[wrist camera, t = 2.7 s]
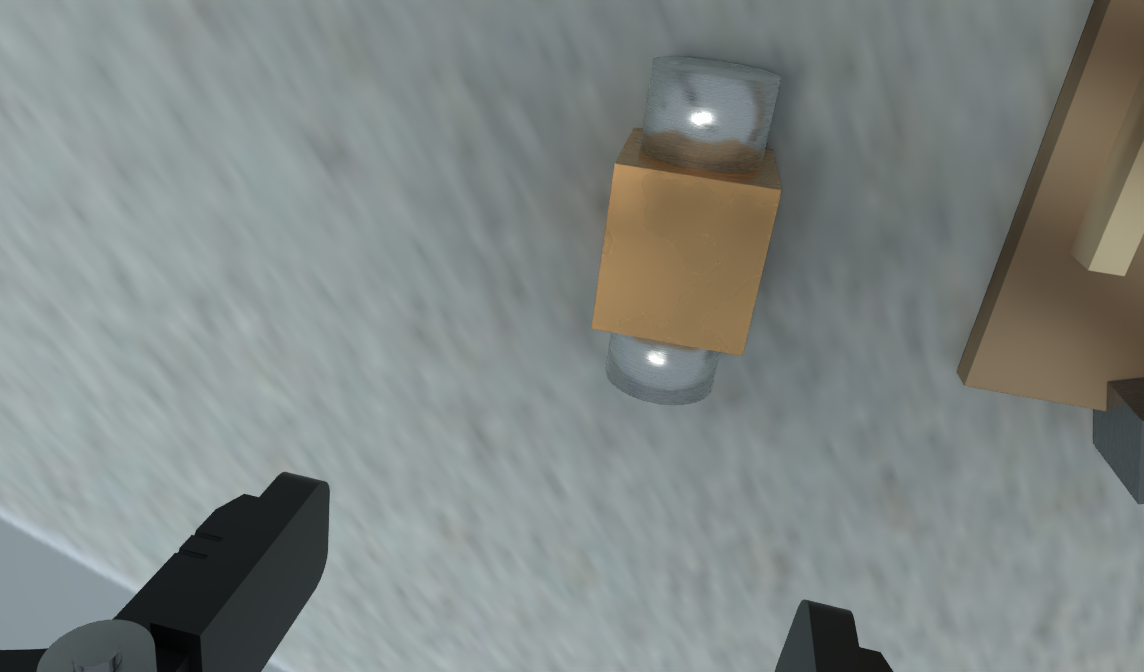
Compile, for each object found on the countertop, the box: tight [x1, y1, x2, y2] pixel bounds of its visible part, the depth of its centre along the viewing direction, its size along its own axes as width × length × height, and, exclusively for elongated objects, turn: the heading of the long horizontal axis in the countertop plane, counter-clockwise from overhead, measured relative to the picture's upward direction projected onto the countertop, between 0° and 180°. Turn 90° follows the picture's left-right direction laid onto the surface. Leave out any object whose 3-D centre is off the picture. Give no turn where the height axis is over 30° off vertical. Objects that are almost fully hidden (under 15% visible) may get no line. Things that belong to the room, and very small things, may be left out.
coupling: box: [591, 57, 782, 405], centre depth 25 cm, size 10×4×5 cm, turn 173°
